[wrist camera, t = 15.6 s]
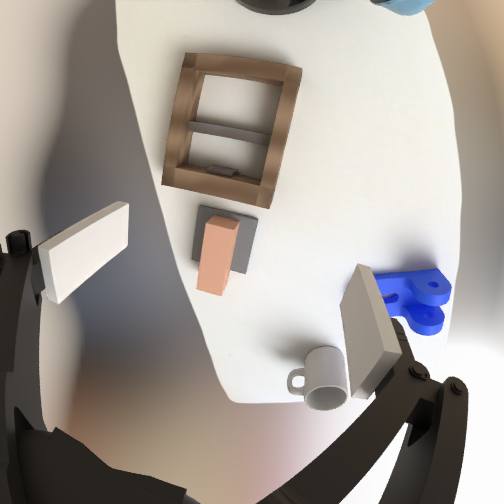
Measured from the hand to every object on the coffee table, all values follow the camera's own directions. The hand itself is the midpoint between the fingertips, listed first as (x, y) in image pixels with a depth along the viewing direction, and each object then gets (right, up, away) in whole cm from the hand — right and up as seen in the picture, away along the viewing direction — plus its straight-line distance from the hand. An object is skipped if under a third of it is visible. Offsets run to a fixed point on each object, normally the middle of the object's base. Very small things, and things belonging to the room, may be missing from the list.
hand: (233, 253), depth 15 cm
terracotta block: (-4, 0, +34) cm, 34 cm away
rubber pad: (-4, +2, +34) cm, 34 cm away
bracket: (+28, -7, +33) cm, 44 cm away
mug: (+15, -23, +42) cm, 50 cm away
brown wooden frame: (-2, +19, +27) cm, 33 cm away
